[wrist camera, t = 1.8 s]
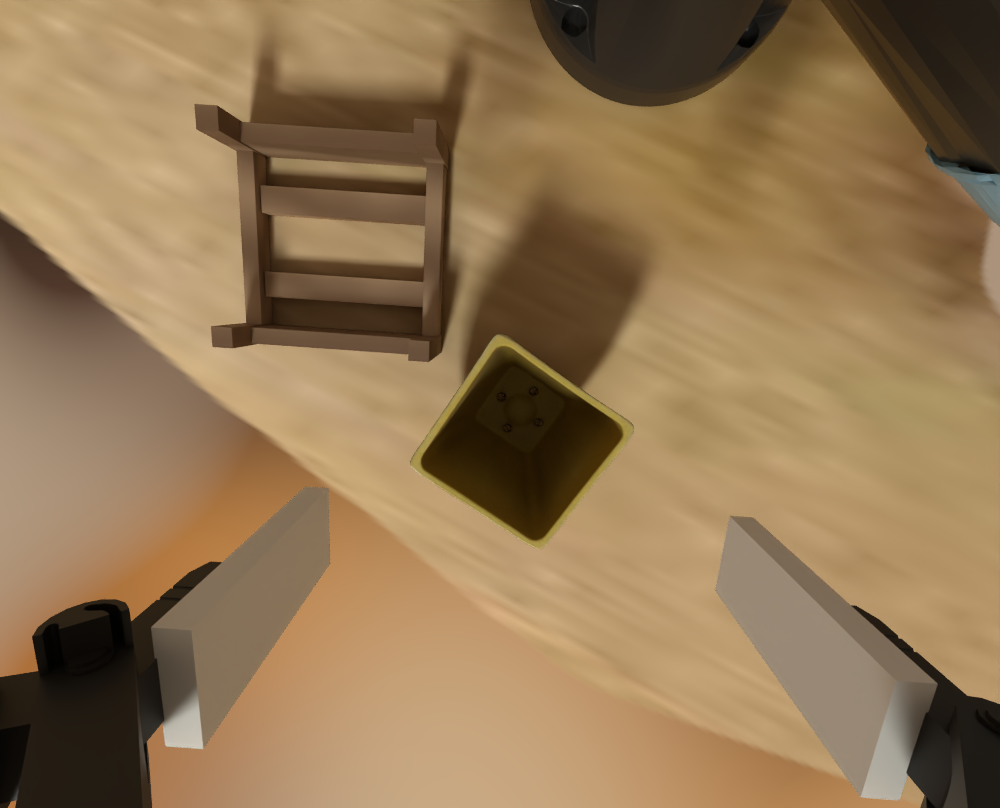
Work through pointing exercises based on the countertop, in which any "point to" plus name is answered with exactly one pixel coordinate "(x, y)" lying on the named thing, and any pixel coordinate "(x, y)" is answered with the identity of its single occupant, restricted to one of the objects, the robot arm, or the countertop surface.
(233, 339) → the rack
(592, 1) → the robot arm
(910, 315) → the countertop surface
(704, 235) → the countertop surface
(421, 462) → the flower pot
